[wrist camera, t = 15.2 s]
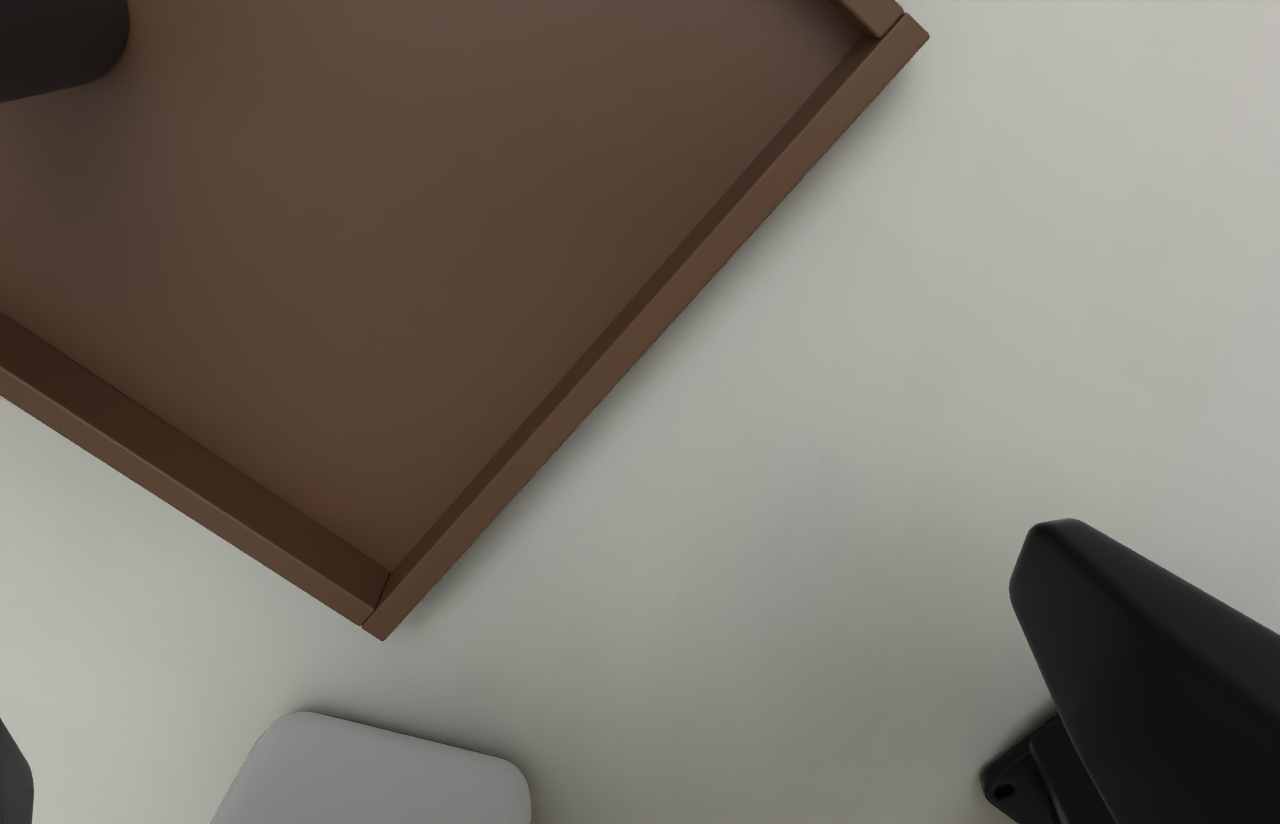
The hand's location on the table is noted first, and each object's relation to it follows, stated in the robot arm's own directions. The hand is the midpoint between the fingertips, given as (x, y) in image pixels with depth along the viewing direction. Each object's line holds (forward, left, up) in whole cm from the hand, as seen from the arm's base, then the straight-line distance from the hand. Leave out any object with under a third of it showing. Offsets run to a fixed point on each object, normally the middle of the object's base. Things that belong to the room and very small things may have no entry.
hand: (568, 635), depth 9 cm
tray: (+6, +1, -13) cm, 14 cm away
